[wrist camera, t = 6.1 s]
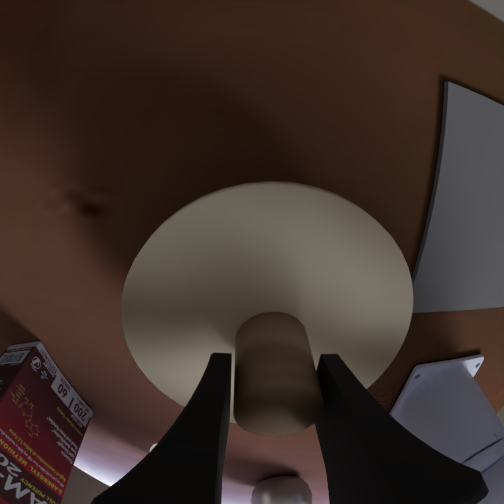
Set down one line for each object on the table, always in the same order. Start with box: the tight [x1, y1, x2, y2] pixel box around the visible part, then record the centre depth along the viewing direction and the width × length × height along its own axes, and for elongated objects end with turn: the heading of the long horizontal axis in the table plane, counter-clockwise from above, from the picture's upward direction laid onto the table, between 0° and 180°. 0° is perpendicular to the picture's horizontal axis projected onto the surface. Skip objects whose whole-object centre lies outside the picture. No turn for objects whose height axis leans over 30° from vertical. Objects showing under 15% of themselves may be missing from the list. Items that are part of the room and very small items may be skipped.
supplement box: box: [0, 341, 93, 504], centre depth 13 cm, size 9×5×16 cm, turn 15°
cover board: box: [121, 181, 413, 436], centre depth 11 cm, size 12×12×4 cm
